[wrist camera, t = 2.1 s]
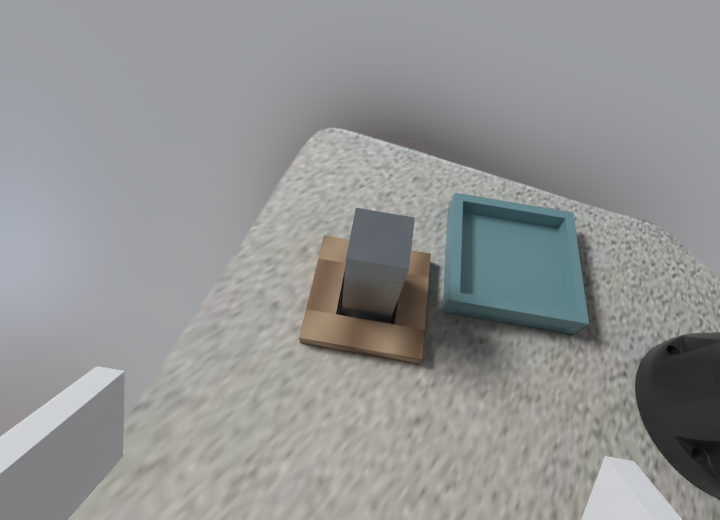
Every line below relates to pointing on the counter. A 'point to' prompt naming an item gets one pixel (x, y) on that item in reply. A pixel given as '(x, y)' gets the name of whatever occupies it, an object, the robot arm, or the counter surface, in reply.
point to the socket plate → (359, 333)
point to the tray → (513, 264)
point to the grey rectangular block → (376, 264)
